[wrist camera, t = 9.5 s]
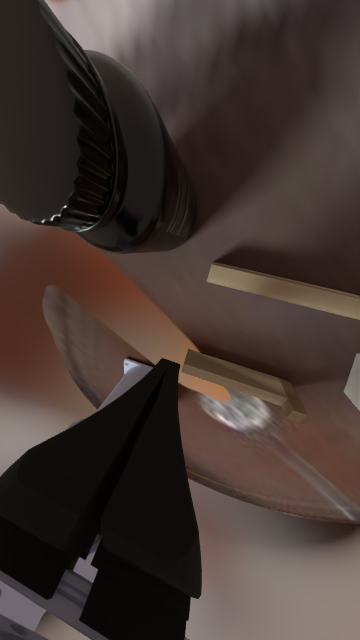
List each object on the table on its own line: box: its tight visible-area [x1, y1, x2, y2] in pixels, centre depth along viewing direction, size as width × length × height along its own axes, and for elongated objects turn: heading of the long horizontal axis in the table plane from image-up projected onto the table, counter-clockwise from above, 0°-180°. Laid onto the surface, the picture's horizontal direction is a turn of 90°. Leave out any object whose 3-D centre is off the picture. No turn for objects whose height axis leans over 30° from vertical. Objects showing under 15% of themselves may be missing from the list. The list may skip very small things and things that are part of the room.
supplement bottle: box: [0, 0, 197, 254], centre depth 9 cm, size 7×7×12 cm
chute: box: [182, 262, 360, 423], centre depth 15 cm, size 14×14×4 cm
